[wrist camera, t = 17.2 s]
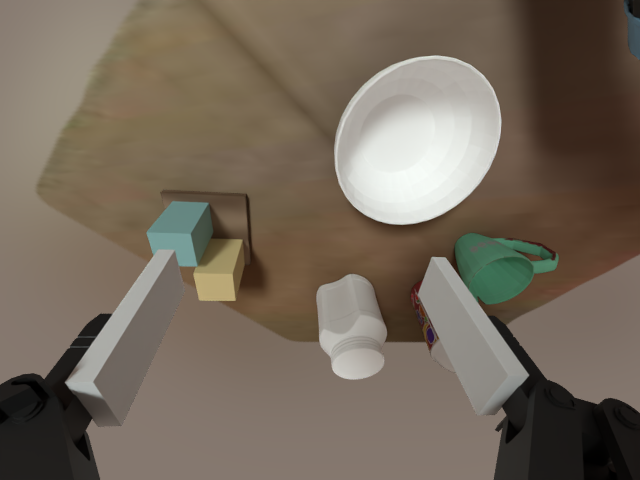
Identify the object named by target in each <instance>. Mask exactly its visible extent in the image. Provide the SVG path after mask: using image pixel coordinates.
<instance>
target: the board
mask: <svg viewBox="0 0 640 480" xmlns="http://www.w3.org/2000/svg"><path fill="white" fill-rule="evenodd" d="M161 197H162V201H163V205H164V209H165V210H166V208H167V207H168V206H169V205H170V204H171V202H172V201H177V202H202V203H209V207H210V214H211V220H212V227H213V234H212V236H211V239H242V240H243V250H244V262H245V265H250V263H251V256H250V242H249V227H248V212H247V197H246V194H239V193H218V192H197V191H176V190H163V191H162V192H161Z"/></svg>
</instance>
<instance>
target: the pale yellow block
mask: <svg viewBox="0 0 640 480" xmlns="http://www.w3.org/2000/svg"><path fill="white" fill-rule="evenodd" d="M244 265H245V262H244V250H243V240H242V239H211V238H210V240H209V243H208V245H207V247H206V249H205V251H204V253H203V255H202V258H201V260H200V262H199V264H198V266H197V267H196V269H195V271H194V273H193V274H194V278H195V283H196V287H197V292H198V296H199V300H207V301H208V300H209V301H211V300H212V301H236V297H237V293H238V289H239V285H240V281H241V277H242V273H243V269H244Z"/></svg>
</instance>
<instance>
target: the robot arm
mask: <svg viewBox="0 0 640 480" xmlns="http://www.w3.org/2000/svg"><path fill="white" fill-rule="evenodd" d="M624 11H625V14H626V16H627V17H628V46H629V49H630V51H631V53H632V54H633V55H635V56H636V57H637V58H638V59H639V60H640V0H624ZM184 292H185V289H184V285H183V281H182V277H181V273H180V269H179V265H178V261H177V257H176V253H175V250H165V249H158V250H157V252H156V253H155V255H154V256H153V258H152V259H151V260H150V262H149V263H148V265H147V266H146V268H145V269H144V270H143V272H142V273H141V275H140V276H139V278H138V279H137V280H136V282H135V283H134V285H133V286H132V288H131V289H130V290H129V292H128V293H127V295H126V296H125V297H124V299H123V300H122V302H121V303H120V305H119V306H118V307H117V309H116V310H115V312H114V313H113V314H99V315H98V316H97V317H96V318H94V319H93V320H92V321H90V322H89V323H88V324H87V325H86V326H85V327H84V328H83V330H82V331H81V332H80V334H79V335H78V338H76V339H75V340H74V341H73V343H72V344H71V345H70V348H69V349H67V351H66V352H65V353H64V354H63V356H62V357H61V358H60V360H59V361H58V362H57V364H56V365H55V366H54V367H53V369H52V370H51V371H50V373H49V374H48V375H47V377H46V378H45V379H43V378H42V377H41V376H40V375H37V374H34V373H32V374H23V375H20V376H17V377H14V378H11V379H10V380H8V381H6V382H4V383H2V384H1V385H0V480H100V477H99V474H98V470H97V466H96V462H95V459H94V455H93V451H92V447H91V444H90V440H89V436H88V434H87V432H86V431H85V430H86V429H87V427H88V425H89V423H90V421H91V420H92V419H93V421H94V422H95V423H96V425H97V426H98V427H104V426H122V424H123V422H124V420H125V418H126V416H127V413H128V411H129V409H130V407H131V405H132V403H133V401H134V399H135V396H136V394H137V392H138V390H139V388H140V386H141V384H142V382H143V379H144V377H145V375H146V373H147V371H148V369H149V367H150V365H151V362H152V360H153V358H154V356H155V354H156V352H157V350H158V347H159V345H160V343H161V341H162V339H163V337H164V335H165V332H166V330H167V328H168V326H169V324H170V322H171V320H172V318H173V316H174V313H175V311H176V309H177V307H178V305H179V303H180V301H181V299H182V296H183V294H184ZM418 296H419V298H420V300H421V302H422V304H423V306H424V308H425V310H426V312H427V314H428V316H429V318H430V320H431V323H432V325H433V327H434V329H435V331H436V333H437V335H438V337H439V339H440V341H441V343H442V345H443V347H444V349H445V351H446V353H447V355H448V357H449V359H450V361H451V363H452V365H453V368H454V370H455V372H456V374H457V376H458V378H459V380H460V382H461V384H462V386H463V388H464V390H465V392H466V394H467V396H468V398H469V400H470V402H471V404H472V406H473V408H474V410H475V413H476V415H495V414H496V413H497V412H498V411H499V410H500V409H501V407H502V408H503V409H504V411H505V413H506V415H507V416H506V417H505V418H504V419H503V420H502V421H501V422H500V423H499V425H498V426H497V428H496V429H495V430H496V431H498V432H499V431H500V430H501V429H502V434H501V440H500V446H499V452H498V457H497V463H496V469H495V475H494V480H640V413H639V412H638V411H637V410H635V409H634V408H632V407H631V406H629V405H628V404H626V403H624V402H622V401H620V400H617V399H613V398H608V399H604V400H603V401H602V402H600V404H595V403H591V402H588V401H584V400H581V399H577V398H574V397H573V395H572V394H571V393H569V392H568V391H567V390H566V389H565V388H563V387H562V386H560V385H559V384H557V383H555V382H552V381H550V380H547V379H546V378H545V377H544V375H543V374H542V373H541V371H540V370H539V369H538V367H537V366H536V365H535V363H534V362H533V361H532V360H531V358H530V357H529V356H528V354H527V353H526V352H525V350H524V349H523V348H522V346H520V345H519V342H518V341H517V340H516V338H515V337H513V334H512V333H511V332H510V330H509V329H508V328H507V326H506V325H505V324H504V323H503V322H501V321H500V320H499V319H498V318H497V317H495V316H487V315H486V314H485V312H484V311H483V310H482V308H481V307H480V305H479V304H478V302H477V301H476V300H475V298H474V297H473V295H472V294H471V293H470V291H469V290H468V288H467V287H466V286H465V284H464V283H463V281H462V280H461V279H460V277H459V276H458V274H457V273H456V271H455V270H454V269H453V267H452V266H451V264H450V263H449V262H448V260H447V259H446V257H432V258H431V261H430V263H429V266H428V269H427V271H426V274H425V277H424V279H423V282H422V285H421V287H420V290H419V293H418Z"/></svg>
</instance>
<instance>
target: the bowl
mask: <svg viewBox="0 0 640 480" xmlns="http://www.w3.org/2000/svg"><path fill="white" fill-rule="evenodd" d="M500 133H501V114H500V107H499V103H498V100H497V97H496V95H495V92H494V89H493V88H492V86H491V85H490V83H489V82H488V81H487V79H486V78H485V76H484V75H483V74H481V73H480V72H479V71H478V70H476V69H475V68H474V67H473V66H471V65H470V64H467V63H465V62H463V61H460V60H458V59H456V58H451V57H444V56H427V57H417V58H412V59H408V60H405V61H402V62H399V63H396V64H393V65H391V66H389V67H388V68H386V69H384V70H382V71H381V72H379V73H377V74H376V75H375V76H373V77H372V78H371V79H370V80H369V81H368V82H366V83H365V84H364V85H363V86H362V87H361V88H360V89H359V91H358V92H357V93H356V94H355V95H354V97H353V98H352V99H351V100H350V102H349V104H348V106H347V108H346V109H345V111H344V113H343V115H342V117H341V120H340V123H339V126H338V129H337V132H336V138H335V145H334V156H335V170H336V174H337V178H338V181H339V185H340V187H341V189H342V191H343V192H344V194H345V196H346V198H347V199H348V200H349V201H350V202H351V204H352V205H353V206H354V207H355V208H356V209H358V210H359V211H360V212H361V213H363V214H364V215H366V216H368V217H370V218H372V219H374V220H376V221H380V222H384V223H388V224H399V225H405V224H415V223H419V222H423V221H427V220H430V219H433V218H435V217H437V216H439V215H442V214H444V213H445V212H447V211H449V210H450V209H452V208H453V207H455V206H457V205H458V204H459V203H460V202H461V201H463V200H464V199H465V198H466V197H467V196H468V195H469V194H470V193H471V192H472V191H473V190H474V189H475V188H476V187H477V185H478V184H479V183H480V182H481V180H482V179H483V177H484V176H485V174H486V173H487V171H488V170H489V168H490V165H491V163H492V161H493V159H494V157H495V155H496V151H497V147H498V144H499V140H500Z"/></svg>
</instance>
